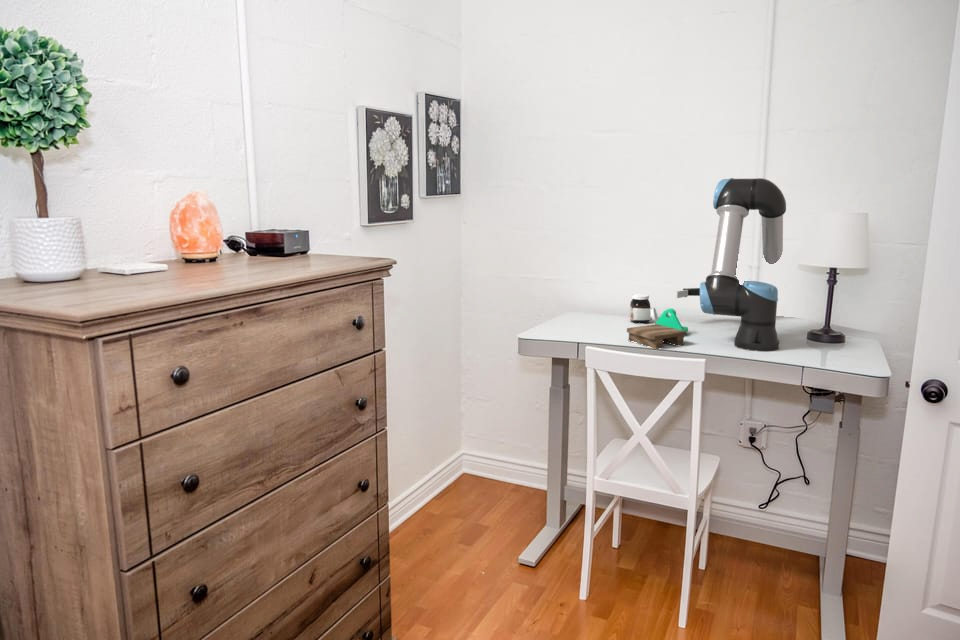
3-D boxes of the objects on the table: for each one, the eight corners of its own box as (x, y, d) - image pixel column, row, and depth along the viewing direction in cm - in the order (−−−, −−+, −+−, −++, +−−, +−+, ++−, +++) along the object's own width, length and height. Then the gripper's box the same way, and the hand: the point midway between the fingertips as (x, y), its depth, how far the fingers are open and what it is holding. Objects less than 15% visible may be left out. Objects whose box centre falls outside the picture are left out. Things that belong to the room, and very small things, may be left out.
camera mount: (688, 333, 272) (689, 308, 269) (682, 337, 265) (683, 311, 263) (658, 330, 278) (660, 305, 276) (652, 333, 272) (653, 308, 270)
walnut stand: (685, 344, 253) (685, 331, 252) (654, 349, 246) (654, 335, 245) (656, 336, 265) (657, 324, 264) (626, 341, 259) (627, 328, 258)
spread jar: (627, 320, 298) (628, 293, 296) (653, 319, 299) (654, 293, 296) (635, 325, 286) (636, 298, 284) (661, 325, 287) (663, 297, 285)
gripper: (749, 304, 277) (715, 311, 266) (699, 296, 298) (665, 301, 286) (750, 286, 276) (716, 292, 264) (700, 278, 296) (666, 283, 285)
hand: (689, 297), depth 275 cm, fingers open, 13 cm apart
